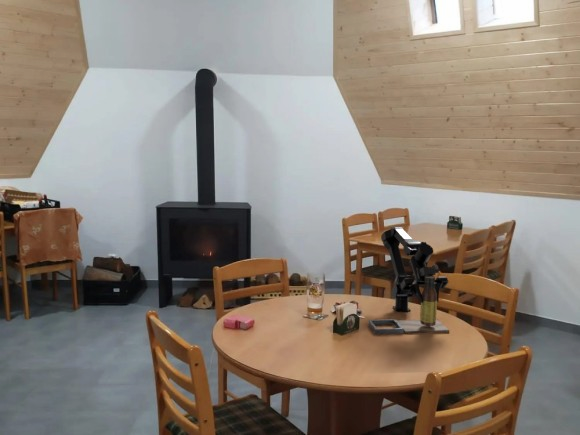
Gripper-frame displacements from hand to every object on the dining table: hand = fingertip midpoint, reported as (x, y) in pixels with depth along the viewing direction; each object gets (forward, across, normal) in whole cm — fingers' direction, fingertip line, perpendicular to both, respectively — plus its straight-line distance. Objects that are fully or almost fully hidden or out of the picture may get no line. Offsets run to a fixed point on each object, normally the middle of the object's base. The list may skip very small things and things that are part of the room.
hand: (430, 302), depth 202 cm
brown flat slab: (+6, -1, +11) cm, 12 cm away
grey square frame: (+5, -17, +11) cm, 21 cm away
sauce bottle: (+6, 0, +8) cm, 10 cm away
